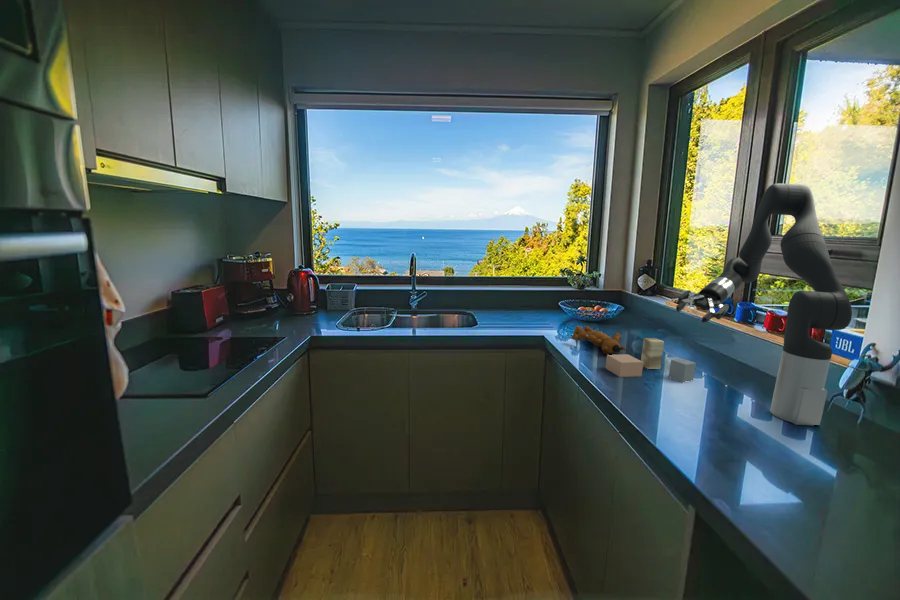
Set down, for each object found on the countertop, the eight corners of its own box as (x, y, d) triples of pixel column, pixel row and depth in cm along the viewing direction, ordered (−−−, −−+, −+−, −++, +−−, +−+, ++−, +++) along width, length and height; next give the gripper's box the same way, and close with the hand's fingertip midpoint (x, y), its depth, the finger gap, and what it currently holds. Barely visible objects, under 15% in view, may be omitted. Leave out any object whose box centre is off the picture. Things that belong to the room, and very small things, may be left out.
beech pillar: (660, 369, 136) (664, 341, 134) (648, 369, 135) (652, 341, 133) (651, 365, 140) (655, 337, 139) (640, 365, 140) (643, 337, 138)
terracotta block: (641, 376, 129) (643, 362, 128) (619, 377, 127) (621, 362, 126) (626, 368, 136) (627, 354, 136) (605, 368, 135) (607, 354, 134)
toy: (559, 339, 174) (591, 358, 144) (560, 323, 173) (593, 340, 144) (602, 339, 176) (642, 359, 147) (603, 324, 175) (644, 340, 146)
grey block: (693, 380, 127) (696, 363, 126) (682, 382, 125) (685, 364, 124) (678, 375, 131) (681, 358, 130) (668, 377, 129) (671, 359, 128)
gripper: (697, 276, 142) (670, 298, 137) (741, 290, 132) (713, 315, 126) (694, 292, 147) (668, 314, 141) (736, 308, 136) (710, 332, 131)
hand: (690, 315), depth 134 cm, fingers open, 8 cm apart
